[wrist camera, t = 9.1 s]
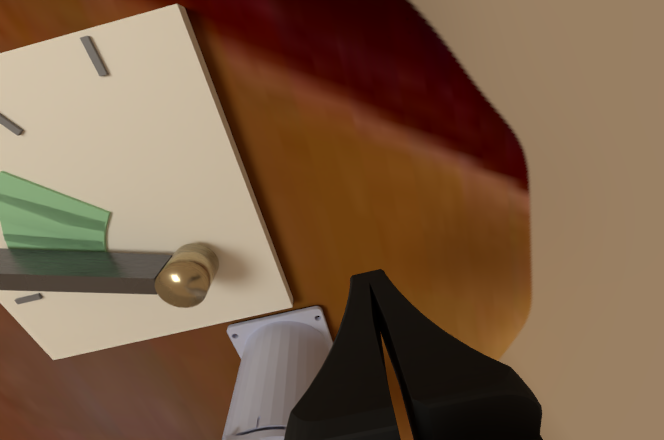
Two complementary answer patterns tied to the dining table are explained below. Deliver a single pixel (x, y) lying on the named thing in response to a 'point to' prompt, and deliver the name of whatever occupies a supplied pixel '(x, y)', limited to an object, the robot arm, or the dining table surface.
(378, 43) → the dining table surface
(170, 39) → the dial plate
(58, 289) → the grey metal bar
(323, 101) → the dining table surface
